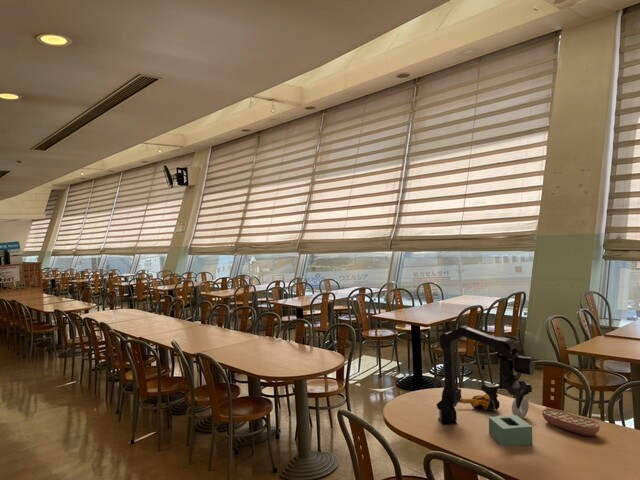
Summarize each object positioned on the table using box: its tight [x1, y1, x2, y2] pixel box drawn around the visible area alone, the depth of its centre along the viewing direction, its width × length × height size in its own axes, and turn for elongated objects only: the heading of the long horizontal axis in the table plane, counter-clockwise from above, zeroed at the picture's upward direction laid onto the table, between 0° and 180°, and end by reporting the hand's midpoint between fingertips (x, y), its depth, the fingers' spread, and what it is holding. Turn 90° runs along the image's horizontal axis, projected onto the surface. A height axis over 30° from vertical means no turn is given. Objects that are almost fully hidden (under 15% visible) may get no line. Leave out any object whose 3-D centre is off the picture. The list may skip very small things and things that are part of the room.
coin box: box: [488, 414, 534, 448], centre depth 188 cm, size 12×12×7 cm
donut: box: [511, 396, 530, 420], centre depth 208 cm, size 10×4×10 cm, turn 124°
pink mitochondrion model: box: [541, 408, 601, 437], centre depth 196 cm, size 23×10×5 cm, turn 33°
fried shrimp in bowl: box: [458, 393, 501, 412], centre depth 220 cm, size 9×11×18 cm
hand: (507, 409), depth 189 cm, fingers open, 9 cm apart
